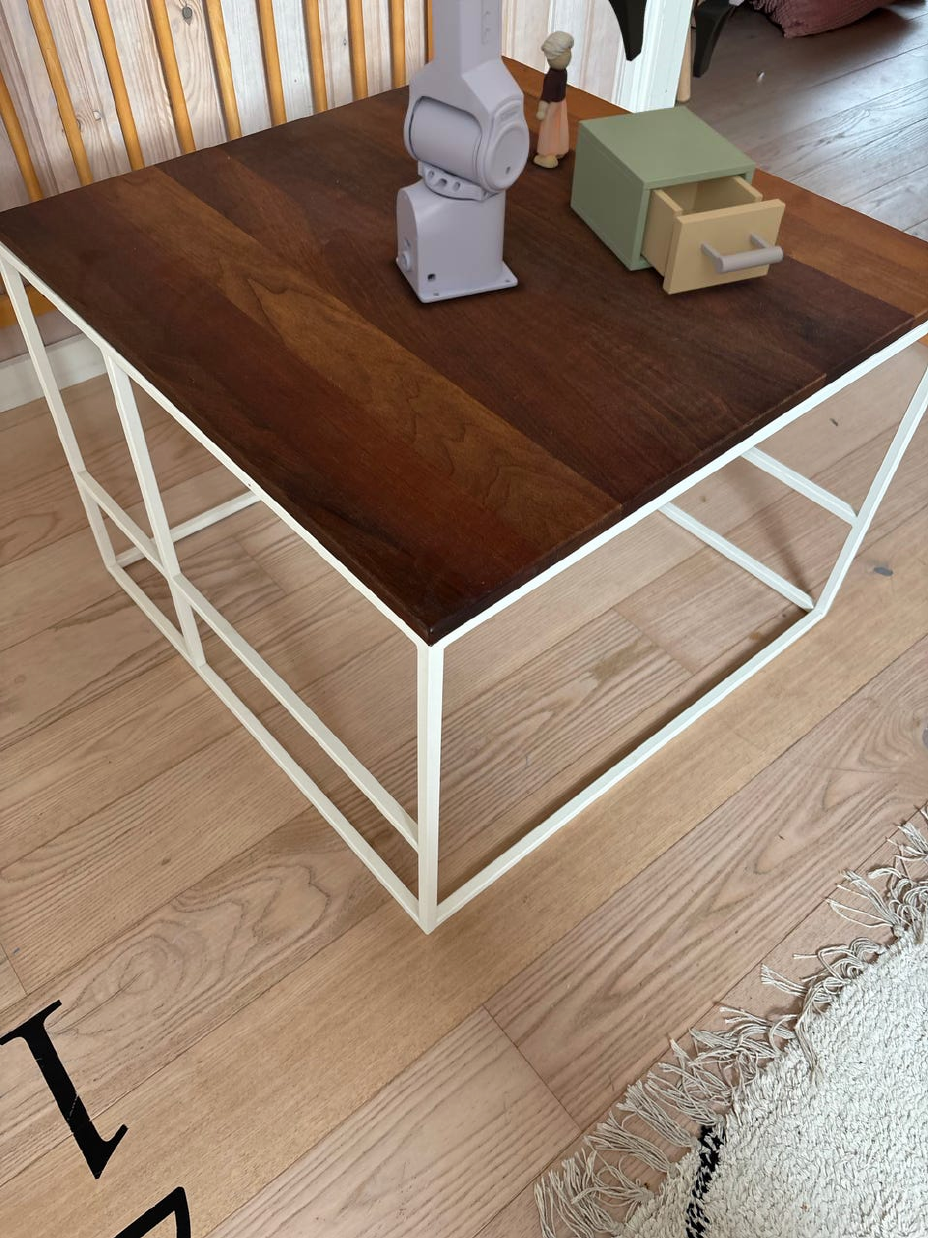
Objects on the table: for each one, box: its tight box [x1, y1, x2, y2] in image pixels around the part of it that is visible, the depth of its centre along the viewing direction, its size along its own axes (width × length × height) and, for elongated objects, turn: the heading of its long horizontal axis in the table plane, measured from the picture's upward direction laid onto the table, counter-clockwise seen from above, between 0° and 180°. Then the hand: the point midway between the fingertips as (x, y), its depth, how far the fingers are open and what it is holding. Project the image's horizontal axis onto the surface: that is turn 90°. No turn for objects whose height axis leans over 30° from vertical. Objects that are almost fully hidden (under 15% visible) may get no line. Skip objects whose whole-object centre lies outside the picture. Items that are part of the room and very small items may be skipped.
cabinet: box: [570, 105, 757, 272], centre depth 97 cm, size 14×12×9 cm
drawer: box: [640, 174, 786, 295], centre depth 92 cm, size 17×10×7 cm, turn 21°
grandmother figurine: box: [533, 30, 575, 169], centre depth 106 cm, size 8×4×13 cm, turn 168°
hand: (666, 64), depth 102 cm, fingers open, 7 cm apart
